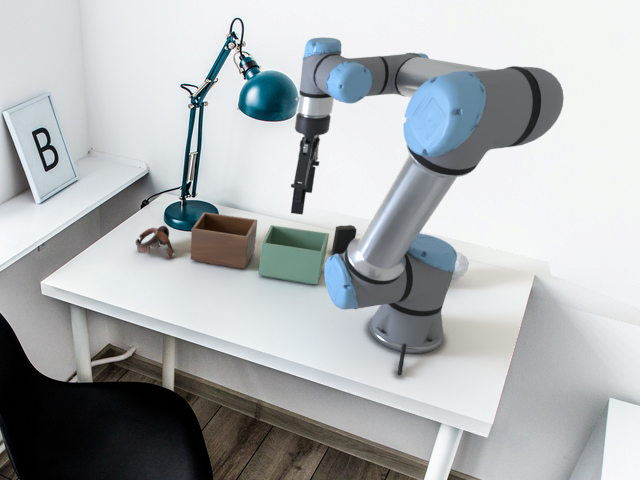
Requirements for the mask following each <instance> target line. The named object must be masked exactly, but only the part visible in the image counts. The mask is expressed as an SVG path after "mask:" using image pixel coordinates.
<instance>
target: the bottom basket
mask: <svg viewBox="0 0 640 480" xmlns="http://www.w3.org/2000/svg"><path fill="white" fill-rule="evenodd" d="M257 229H258V219H255V218H254V219H253V218H247V217H241V216H233V215H228V214H227V215H225V214H219V213H212V212H205V211H204V212H203V211H202V214H201V215H200V217H198V220H197V221H196V222H195V224H194V225H193V226H192V228H191V234H190V235H191V238H190V260H192V261H195V262H198V263H203V264H208V265H214V266H220V267H227V268H232V269H233V268H234V269H238V270H242V269H246V268H247V266H248V264H249V262H250V259H251V258H252V256H253V254H254V252H255V249H256V239H257Z"/></svg>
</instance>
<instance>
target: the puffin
mask: <svg viewBox="0 0 640 480" xmlns="http://www.w3.org/2000/svg"><path fill="white" fill-rule="evenodd" d="M456 253H457V260H456V264H455V271H454V272H453V275H452V278H451V280H457V279H459V278H461V277H464V276H465V274H466V273H467V271H468V270H469V265H470V261H469V260H468V258H467V256H466V255H464V254H463V253H461V252H459V251H456Z"/></svg>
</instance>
